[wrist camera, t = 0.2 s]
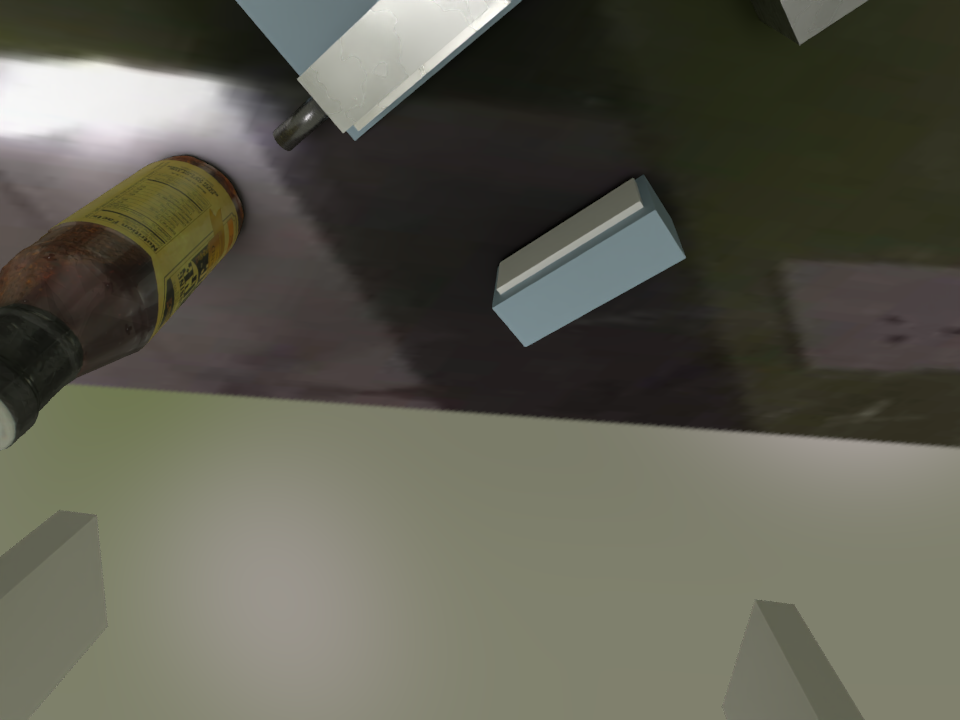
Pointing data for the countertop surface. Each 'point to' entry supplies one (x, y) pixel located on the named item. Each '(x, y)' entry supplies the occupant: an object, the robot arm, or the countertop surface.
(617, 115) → the countertop surface
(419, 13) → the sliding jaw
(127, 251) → the sauce bottle
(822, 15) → the steel block
